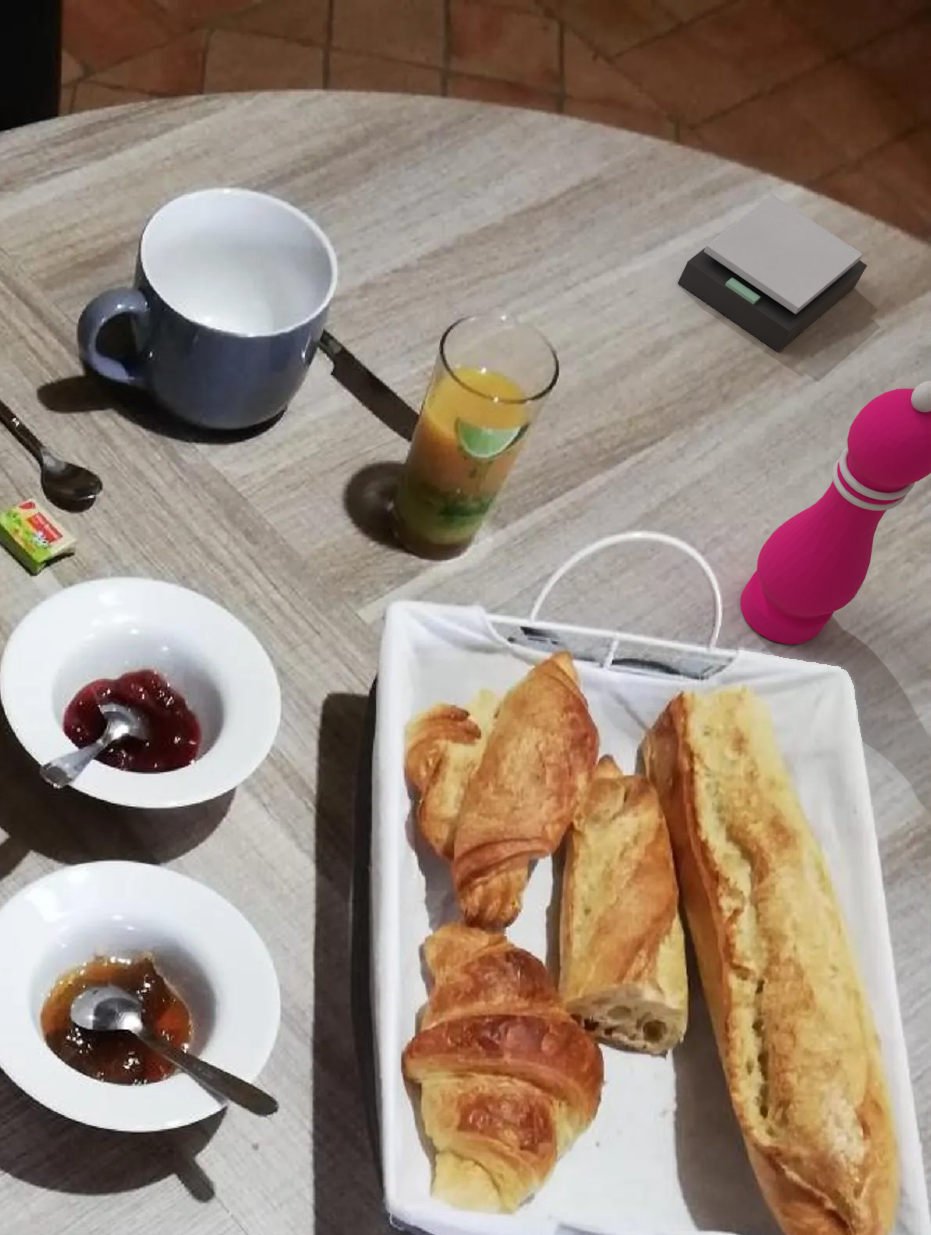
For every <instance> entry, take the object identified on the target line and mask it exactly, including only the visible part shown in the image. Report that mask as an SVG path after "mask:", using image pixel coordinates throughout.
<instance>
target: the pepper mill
mask: <svg viewBox="0 0 931 1235" xmlns="http://www.w3.org/2000/svg"><path fill="white" fill-rule="evenodd" d="M846 441H847V444H846V445H847V446H846V447H845V448H844V449H843V450H842V452H841V454H840V457H839V458H838V459H837V460H836V461H835V463H834V465H833V468H832V475H831V476H832V481H831V483H830V485H829V487H828V488H827V490H826V491H825V492H824V494H823V495H822V496H821V497H820V498H819V499H818V500H817V501H816V502H815V503H814V504H812V505H811V506H809V507H807V508H805V509H804V510H802V511H800V512H799V513H797V514H795V515H793V516H791V517H790V518H789V519H788V520H786V521H784V522H783V523H782V524H780V525H779V526H778V527H777V528H776V529H775V530H774V531H773V532H772V534H771V535H770V536H769V537H768V538H767V539H766V541H765V542H764V544H763V545H762V546H761V548H760V550H759V554H758V556H757V562H756V570H755V571H754V572H753V574H752V575H751V577H750V579H749V580H748V582H747V583H746V585H745V586H744V587H743V590H742V592H741V594H740V598H739V605H740V611H741V614H742V616H743V618H744V620H745V621H746V622H747V624H748V625H749V627H751V628H752V629H753V631H755V632H756V633H757V634H759V635H760V636H762V637H763V638H765V639H767V640H769V641H772V642H776V643H779V644H783V645H797V644H803V643H807V642H809V641H811V640H812V639H814V638H816V637H817V636H818V635H819V634H820V633H821V632H822V630H824V627H825V626H826V625H827V624H828V622H829V620H830V619H831V618H832V617H833V614H834V612H836V611H839V610H841V609H842V608H844V607H845V606H847V605H848V604H849V603H850V602H852V601H853V599H854V598H855V597H856V595H857V594H858V592H859V590H860V588H861V587H862V585H863V584H864V581H865V580H866V577H867V574H868V572H869V567H870V564H871V562H872V561H871V560H872V554H873V553H872V552H873V546H874V539H875V533H876V531H877V528H878V526H879V524H880V521H881V519H882V518H883V516H884V515H885V513H886V512H887V511H888V510H891V509H894V508H896V507H897V506H900V505H901V504H902V503H903V502H904V501H905V499H906V498H907V495H908V494H909V493H910V492H911V491H912V489H913V488H914V486H915V484H916V482H920V481H921V480H923V479H925V478H927V476H929V475H930V474H931V380H926V381H923V382H921V383H920V384H918V385H917V386H916V387H915V388H905V387H904V388H895V389H891V390H888V391H885V392H883V393H881V394H879V395H878V396H876V397H874V398H873V399H871V400H870V401H869V402H868V403H867V404H865V405H864V406H863V408H861V409H860V411H859V412H858V413H857V415H856V416H855V417H854V419H853V421H852V423H851V425H850V427H849V430H848V435H847V438H846Z"/></svg>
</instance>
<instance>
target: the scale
mask: <svg viewBox="0 0 931 1235" xmlns="http://www.w3.org/2000/svg"><path fill="white" fill-rule="evenodd" d="M863 255H864V254H863V253H862V252H860V251H859V250H857V249H856V248H854V247H853V246H851V245H850V244H848V243H847V242H845V241H843V239H841V238H839V237H837V236H836V235H834V234H833V233H832V232H830V231H829V230H827V229H826V228H824V227H823V226H821V225H819V223H817V222H815V221H814V220H812V219H810V218H809V217H808V216H806V215H805V214H803V213H801V212H800V211H798V210H797V209H795V208H794V207H792V206H791V205H789V204H788V203H786V201H785V202H784V200H782V199H780V198H779V197H777V196H776V195H775V194H773V193H770V194H769V195H768V196H767V197H765V198H764V199H763V200H762V201H761V202H759V203H758V204H757V205H756V206H754V207H753V208H751V210H749V211H748V212H746V214H743V216H742V217H740V218H739V219H738V220H737V221H735V222H734V223H732V225H730V226H729V227H728V228H726V229H725V230H724V231H723V232H721V233H720V234H719V235H718V236H716V237H715V238H714V239H713V240H711V242H709V243H708V244H706V246H705V247H704V248H702V249H701V250H700V251H699V252H698V253H696V254H695V255H693V257H691V258H690V259H689V260H687V261H686V264H685V266H684V268H683V270H682V272H681V274H680V277H679V279H678V281H677V284H678V285H679V286H681V287H682V288H684V289H685V290H687V291H688V292H689V293H691V294H693V295H694V296H695V297H697V298H698V299H699V300H701V301H703V302H704V303H706V305H708V306H710V307H712V309H715V310H716V312H718V313H720V314H721V315H723V316H724V317H726V318H727V319H729V320H730V321H732V322H733V323H735V325H737V326H738V327H741V329H743V330H745V331H746V332H748V333H749V334H751V335H752V336H753V337H755V338H756V339H758V340H759V341H761V342H762V343H764V344H765V345H767V346H768V347H769V348H771V349H772V350H774V351H775V352H777V353H780V351H781V350H782V349H784V348H785V347H786V346H787V345H788V344H790V343H791V342H792V341H793V340H794V339H796V337H798V336H799V335H800V334H801V333H803V332H804V331H805V330H806V329H807V328H808V327H809V326H811V325H812V324H813V323H815V321H817V320H818V319H819V318H820V317H821V316H823V314H825V313H826V312H827V311H829V310H830V308H832V307H833V306H834V305H835V304H837V303H838V302H839V301H840V300H842V299H843V298H844V297H845V296H846V295H847V294H848V293H850V292H851V291H852V290H853V289H854V288H855V287H856V286H857V283H858V282H859V281H860V279H861V277H862V275H863V274H864V272H865V270H866V269H867V267H868V264H866V263H865V262H863V261H861V259H862V257H863Z"/></svg>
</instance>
